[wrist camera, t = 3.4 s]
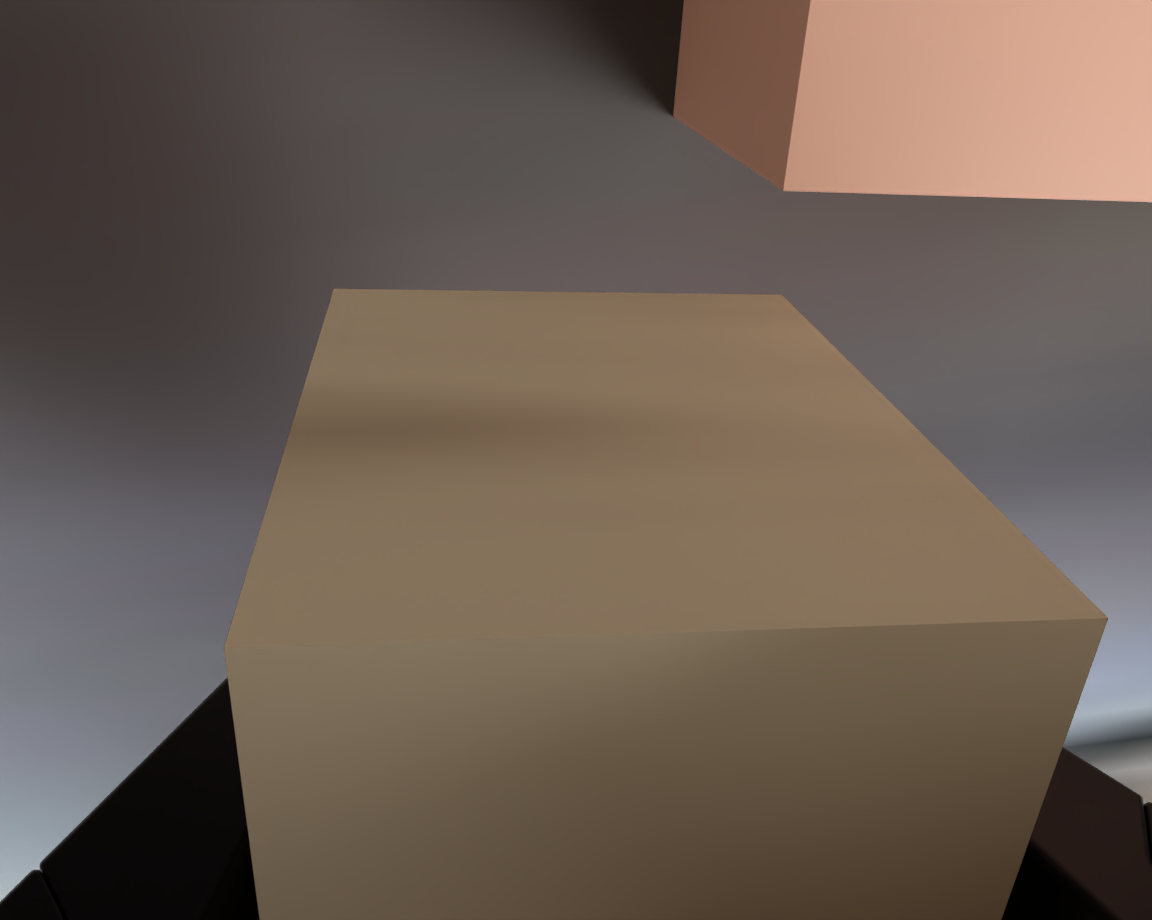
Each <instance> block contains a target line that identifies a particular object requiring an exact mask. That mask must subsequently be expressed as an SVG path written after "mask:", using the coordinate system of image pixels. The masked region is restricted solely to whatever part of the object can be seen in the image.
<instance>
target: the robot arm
mask: <svg viewBox="0 0 1152 920" xmlns="http://www.w3.org/2000/svg"><path fill="white" fill-rule="evenodd" d="M0 920H260V919H259V911H258V904H257V896H256V889H255V881H254V873H253V866H252V858H251V851H250V843H249V835H248V828H247V820H246V813H245V805H244V797H243V790H242V782H241V775H240V767H239V759H238V752H237V744H236V737H235V729H234V721H233V714H232V706H231V699H230V691H229V684H228V677H227V678H226V679H225V680H224V681H223V682H222V683H221V684H220V685H219V686H218V687H217V688H216V689H215V690H214V691H213V692H212V693H211V694H210V695H209V696H208V697H207V698H206V699H205V700H204V701H203V702H202V703H201V704H200V705H199V706H198V707H197V708H196V709H195V710H194V711H193V712H192V713H191V714H190V715H189V716H188V717H187V718H186V719H185V720H184V721H183V722H182V723H181V724H180V725H179V726H178V727H177V728H176V729H175V730H174V731H173V732H172V733H171V734H170V735H169V736H168V737H167V738H166V739H165V740H164V741H163V742H162V743H161V744H160V745H159V746H158V747H157V748H156V749H155V750H154V751H153V752H152V753H151V754H150V755H149V756H148V757H147V758H146V759H145V760H144V761H143V762H142V763H141V764H140V765H139V766H138V767H137V768H135V769H134V770H133V771H132V772H131V773H130V774H129V775H128V776H127V777H126V778H125V779H124V780H123V781H122V782H121V783H120V784H119V785H118V786H117V787H116V788H115V789H114V790H113V791H112V792H111V793H110V794H109V795H108V796H107V797H106V798H105V799H104V800H103V801H102V802H101V803H100V804H99V805H98V806H97V807H96V808H95V809H94V810H93V811H92V812H91V813H90V814H89V815H88V816H87V817H86V818H85V819H84V820H83V821H82V822H81V823H80V824H79V825H78V826H77V827H76V828H75V829H74V830H73V831H72V832H71V833H70V834H69V835H68V836H67V837H66V838H65V839H64V840H63V841H62V842H61V843H60V844H59V845H58V846H57V847H56V848H55V849H54V850H53V851H52V852H51V853H50V854H49V855H48V856H47V857H46V858H45V859H44V860H43V861H42V862H41V863H40V870H33V871H31V872H30V873H29V874H28V875H27V876H26V877H25V878H24V879H23V880H22V881H21V882H20V883H19V884H18V885H17V886H16V887H15V888H14V889H13V890H12V891H11V892H10V893H9V894H8V895H7V896H6V897H5V898H4V899H3V900H2V901H1V902H0ZM1001 920H1152V803H1151V802H1148V803H1146V804H1144V801H1143V798H1142V797H1141V796H1140V795H1139V794H1137V793H1136V792H1134V791H1132V790H1131V789H1129V788H1128V787H1126V786H1124V785H1123V784H1121V783H1119V782H1118V781H1116V780H1115V779H1113V778H1111V777H1110V776H1108V775H1107V774H1105V773H1103V772H1102V771H1100V770H1099V769H1097V768H1095V767H1094V766H1092V765H1091V764H1089V763H1087V762H1086V761H1084V760H1083V759H1081V758H1079V757H1078V756H1076V755H1075V754H1073V753H1071V752H1070V751H1068V750H1067V749H1065V748H1063V747H1062V750H1061V753H1060V755H1059V758H1058V761H1057V764H1056V767H1055V769H1054V772H1053V775H1052V778H1051V781H1050V784H1049V786H1048V789H1047V792H1046V795H1045V798H1044V800H1043V803H1042V806H1041V809H1040V812H1039V815H1038V817H1037V820H1036V823H1035V826H1034V829H1033V831H1032V834H1031V837H1030V840H1029V843H1028V846H1027V848H1026V851H1025V854H1024V857H1023V860H1022V862H1021V865H1020V868H1019V871H1018V874H1017V877H1016V879H1015V882H1014V885H1013V888H1012V891H1011V893H1010V896H1009V899H1008V902H1007V905H1006V907H1005V910H1004V913H1003V916H1002V919H1001Z"/></svg>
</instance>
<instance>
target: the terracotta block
mask: <svg viewBox="0 0 1152 920" xmlns="http://www.w3.org/2000/svg"><path fill="white" fill-rule="evenodd" d="M673 117H674V118H676V119H677V120H679V121H680V122H682V123H683V124H685V125H686V126H688V127H689V128H691V129H692V130H694V131H695V132H697V133H698V134H700V135H701V136H702V137H704V138H705V139H707V140H708V141H710V142H711V143H713V144H714V145H716V146H717V147H719V148H720V149H722V150H723V151H725V152H726V153H728V154H729V155H731V156H732V157H734V158H735V159H737V160H738V161H740V162H741V163H743V164H744V165H746V166H747V167H748V168H750V169H751V170H753V171H754V172H756V173H757V174H759V175H760V176H762V177H763V178H765V179H766V180H768V181H769V182H771V183H772V184H774V185H775V186H777V187H778V188H780V189H781V190H783V191H804V192H837V193H870V194H903V195H937V196H970V197H1003V198H1036V199H1069V200H1103V201H1136V202H1152V0H684V6H683V16H682V27H681V38H680V48H679V59H678V70H677V81H676V91H675V102H674V113H673Z"/></svg>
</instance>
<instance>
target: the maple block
mask: <svg viewBox="0 0 1152 920" xmlns="http://www.w3.org/2000/svg"><path fill="white" fill-rule="evenodd" d="M1107 620H1108V617H1107V616H1106V615H1105V614H1104V613H1103V612H1101V611H1100V610H1099V609H1098V608H1097V607H1096V606H1095V605H1094V604H1093V603H1092V602H1091V601H1090V600H1089V599H1088V598H1087V597H1086V596H1085V595H1084V594H1083V593H1082V592H1081V591H1080V590H1079V589H1078V588H1077V587H1076V586H1075V585H1074V584H1073V583H1072V582H1071V581H1070V580H1069V579H1068V578H1067V577H1066V576H1065V575H1064V574H1063V573H1062V572H1061V571H1060V570H1059V569H1058V568H1057V567H1056V566H1055V565H1054V564H1053V563H1052V562H1051V561H1050V560H1049V559H1048V558H1047V557H1046V556H1045V555H1044V554H1043V553H1042V552H1041V551H1040V550H1039V549H1038V548H1037V547H1036V546H1035V545H1034V544H1033V543H1032V542H1031V541H1030V540H1029V539H1028V538H1027V537H1026V536H1025V535H1024V534H1023V533H1022V532H1021V531H1020V530H1019V529H1018V528H1017V527H1016V526H1015V525H1014V524H1013V523H1012V522H1011V521H1010V520H1009V519H1008V518H1007V517H1006V516H1005V515H1004V514H1003V513H1002V512H1001V511H999V510H998V509H997V508H996V507H995V506H994V505H993V504H992V503H991V502H990V501H989V500H988V499H987V498H986V497H985V496H984V495H983V494H982V493H981V492H980V491H979V490H978V489H977V488H976V487H975V486H974V485H973V484H972V483H971V482H970V481H969V480H968V479H967V478H966V477H965V476H964V475H963V474H962V473H961V472H960V471H959V470H958V469H957V468H956V467H955V466H954V465H953V464H952V463H951V462H950V461H949V460H948V459H947V458H946V457H945V456H944V455H943V454H942V453H941V452H940V451H939V450H938V449H937V448H936V447H935V446H934V445H933V444H932V443H931V442H930V441H929V440H928V439H927V438H926V437H925V436H924V435H923V434H922V433H921V432H920V431H919V430H918V429H917V428H916V427H915V426H914V425H913V424H912V423H911V422H910V421H909V420H908V419H907V418H906V417H905V416H904V415H903V414H902V413H901V412H900V411H899V410H897V409H896V408H895V407H894V406H893V405H892V404H891V403H890V402H889V401H888V400H887V399H886V398H885V397H884V396H883V395H882V394H881V393H880V392H879V391H878V390H877V389H876V388H875V387H874V386H873V385H872V384H871V383H870V382H869V381H868V380H867V379H866V378H865V377H864V376H863V375H862V374H861V373H860V372H859V371H858V370H857V369H856V368H855V367H854V366H853V365H852V364H851V363H850V362H849V361H848V360H847V359H846V358H845V357H844V356H843V355H842V354H841V353H840V352H839V351H838V350H837V349H836V348H835V347H834V346H833V345H832V344H831V343H830V342H829V341H828V340H827V339H826V338H825V337H824V336H823V335H822V334H821V333H820V332H819V331H818V330H817V329H816V328H815V327H814V326H813V325H812V324H811V323H810V322H809V321H808V320H807V319H806V318H805V317H804V316H803V315H802V314H801V313H800V312H799V311H798V310H797V309H795V308H794V307H793V306H792V305H791V304H790V303H789V302H788V301H787V300H786V299H785V298H784V297H783V296H782V295H753V294H679V293H605V292H530V291H456V290H382V289H334V290H333V294H332V297H331V300H330V303H329V307H328V310H327V313H326V316H325V320H324V323H323V326H322V329H321V333H320V336H319V339H318V342H317V346H316V349H315V352H314V355H313V359H312V362H311V365H310V368H309V372H308V375H307V378H306V381H305V385H304V388H303V391H302V394H301V398H300V401H299V404H298V407H297V411H296V414H295V417H294V421H293V424H292V427H291V430H290V434H289V437H288V440H287V443H286V447H285V450H284V453H283V456H282V460H281V463H280V466H279V469H278V473H277V476H276V479H275V482H274V486H273V489H272V492H271V495H270V499H269V502H268V505H267V508H266V512H265V515H264V518H263V521H262V525H261V528H260V531H259V534H258V538H257V541H256V544H255V547H254V551H253V554H252V557H251V561H250V564H249V567H248V570H247V574H246V577H245V580H244V583H243V587H242V590H241V593H240V596H239V600H238V603H237V606H236V609H235V613H234V616H233V619H232V622H231V626H230V629H229V632H228V635H227V639H226V642H225V645H224V653H225V661H226V668H227V676H228V684H229V691H230V699H231V706H232V714H233V721H234V729H235V737H236V744H237V752H238V759H239V767H240V775H241V782H242V790H243V797H244V805H245V813H246V820H247V828H248V835H249V843H250V851H251V858H252V866H253V873H254V881H255V889H256V896H257V904H258V911H259V919H260V920H1001V919H1002V916H1003V913H1004V910H1005V907H1006V905H1007V902H1008V899H1009V896H1010V893H1011V891H1012V888H1013V885H1014V882H1015V879H1016V877H1017V874H1018V871H1019V868H1020V865H1021V862H1022V860H1023V857H1024V854H1025V851H1026V848H1027V846H1028V843H1029V840H1030V837H1031V834H1032V831H1033V829H1034V826H1035V823H1036V820H1037V817H1038V815H1039V812H1040V809H1041V806H1042V803H1043V800H1044V798H1045V795H1046V792H1047V789H1048V786H1049V784H1050V781H1051V778H1052V775H1053V772H1054V769H1055V767H1056V764H1057V761H1058V758H1059V755H1060V753H1061V750H1062V747H1063V744H1064V741H1065V738H1066V736H1067V733H1068V730H1069V727H1070V724H1071V722H1072V719H1073V716H1074V713H1075V710H1076V708H1077V705H1078V702H1079V699H1080V696H1081V693H1082V691H1083V688H1084V685H1085V682H1086V679H1087V677H1088V674H1089V671H1090V668H1091V665H1092V662H1093V660H1094V657H1095V654H1096V651H1097V648H1098V646H1099V643H1100V640H1101V637H1102V634H1103V631H1104V629H1105V626H1106V623H1107Z"/></svg>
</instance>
